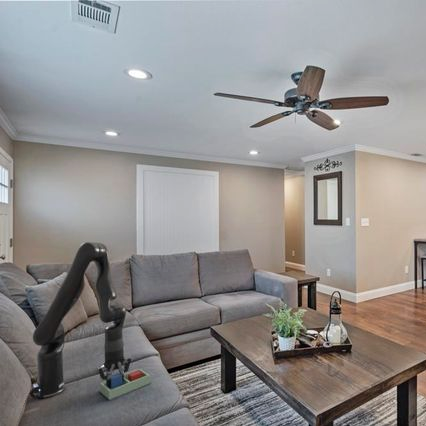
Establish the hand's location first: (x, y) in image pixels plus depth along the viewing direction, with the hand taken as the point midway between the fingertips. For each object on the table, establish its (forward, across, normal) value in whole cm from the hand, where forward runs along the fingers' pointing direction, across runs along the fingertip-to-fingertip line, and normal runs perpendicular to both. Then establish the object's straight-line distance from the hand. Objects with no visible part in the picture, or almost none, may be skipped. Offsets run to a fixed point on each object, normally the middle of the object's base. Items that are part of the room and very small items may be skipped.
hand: (115, 384), depth 152 cm
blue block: (0, 0, 0) cm, 0 cm away
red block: (+3, -9, 0) cm, 9 cm away
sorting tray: (+3, -4, 0) cm, 6 cm away
